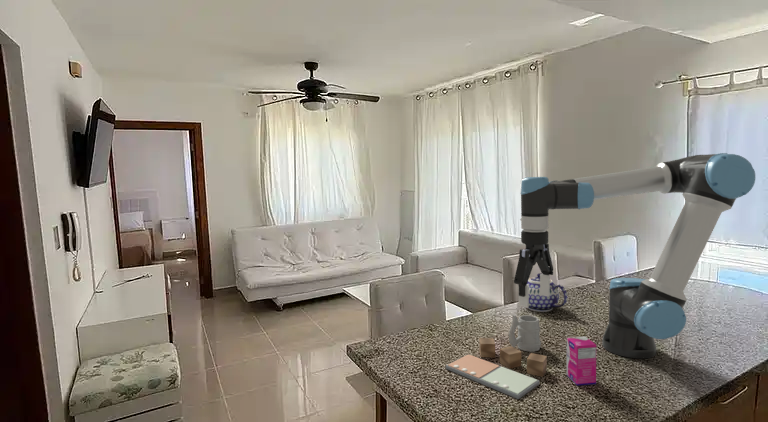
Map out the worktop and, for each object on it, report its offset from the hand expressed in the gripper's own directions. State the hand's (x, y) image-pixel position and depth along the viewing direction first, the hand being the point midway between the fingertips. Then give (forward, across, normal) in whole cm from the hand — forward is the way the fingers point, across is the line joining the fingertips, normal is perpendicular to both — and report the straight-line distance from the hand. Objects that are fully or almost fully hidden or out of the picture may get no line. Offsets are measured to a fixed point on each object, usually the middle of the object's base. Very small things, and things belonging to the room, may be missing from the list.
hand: (534, 301), depth 127 cm
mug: (+20, -9, -8) cm, 23 cm away
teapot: (+20, -51, -22) cm, 59 cm away
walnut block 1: (+20, +3, -15) cm, 25 cm away
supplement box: (+20, 0, +14) cm, 24 cm away
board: (+20, +15, -6) cm, 25 cm away
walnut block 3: (+20, +3, +2) cm, 20 cm away
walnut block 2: (+20, +4, -6) cm, 21 cm away
